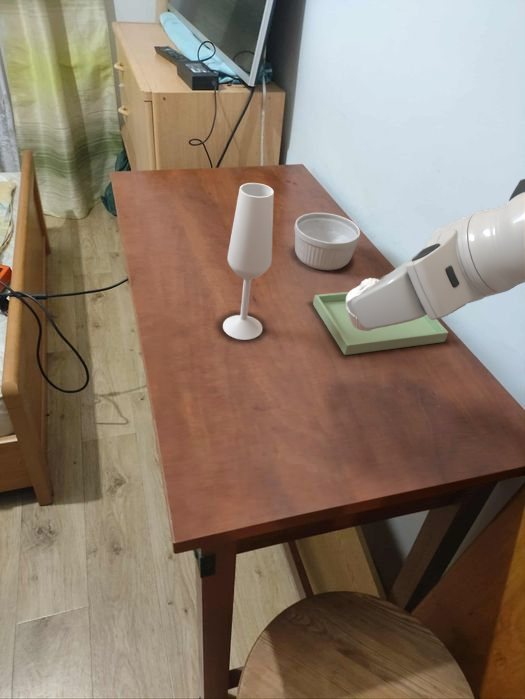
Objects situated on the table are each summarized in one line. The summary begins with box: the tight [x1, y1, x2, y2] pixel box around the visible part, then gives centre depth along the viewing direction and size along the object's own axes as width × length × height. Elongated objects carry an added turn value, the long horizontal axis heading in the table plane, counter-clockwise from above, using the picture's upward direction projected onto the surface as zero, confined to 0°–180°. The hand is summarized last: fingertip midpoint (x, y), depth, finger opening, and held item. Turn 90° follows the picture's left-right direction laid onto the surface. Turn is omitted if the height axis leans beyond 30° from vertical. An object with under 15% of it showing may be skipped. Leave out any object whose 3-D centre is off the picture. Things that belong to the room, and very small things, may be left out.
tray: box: [312, 291, 449, 356], centre depth 90 cm, size 19×14×2 cm
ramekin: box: [293, 212, 361, 271], centre depth 104 cm, size 13×13×7 cm
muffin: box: [346, 277, 380, 331], centre depth 66 cm, size 6×6×7 cm
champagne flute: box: [222, 182, 275, 341], centre depth 78 cm, size 7×7×24 cm
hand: (366, 295), depth 66 cm, fingers closed on muffin, 6 cm apart
